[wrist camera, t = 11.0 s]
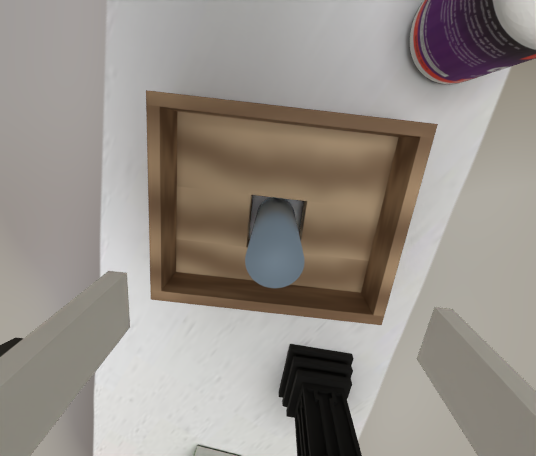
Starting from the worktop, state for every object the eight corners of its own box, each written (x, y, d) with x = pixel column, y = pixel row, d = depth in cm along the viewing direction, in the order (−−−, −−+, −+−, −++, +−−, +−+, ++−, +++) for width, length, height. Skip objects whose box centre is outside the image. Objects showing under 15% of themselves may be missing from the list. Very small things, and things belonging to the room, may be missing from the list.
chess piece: (351, 353, 35) (439, 603, 16) (336, 400, 38) (397, 665, 19) (290, 343, 35) (306, 585, 16) (278, 391, 38) (281, 650, 19)
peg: (259, 194, 29) (247, 230, 18) (296, 199, 29) (308, 237, 18) (255, 230, 31) (242, 284, 19) (291, 234, 31) (299, 291, 19)
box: (176, 101, 27) (146, 90, 21) (400, 127, 27) (437, 124, 21) (174, 268, 32) (150, 299, 26) (361, 289, 33) (381, 325, 26)
